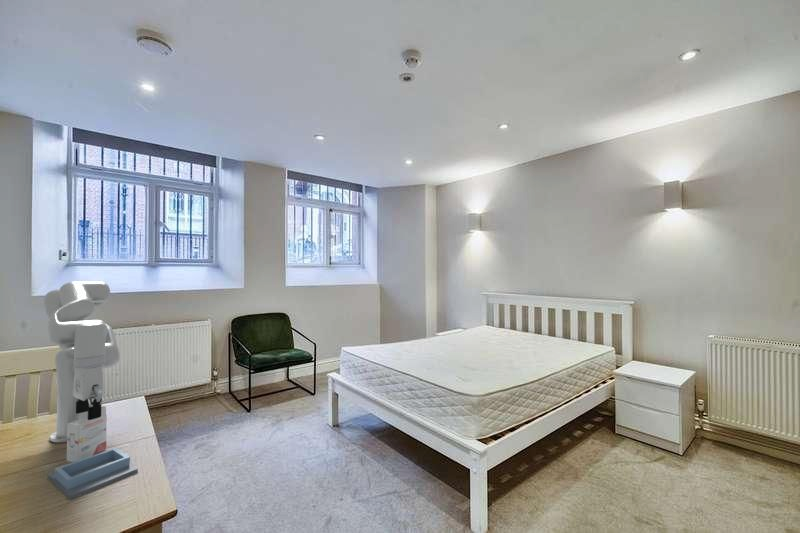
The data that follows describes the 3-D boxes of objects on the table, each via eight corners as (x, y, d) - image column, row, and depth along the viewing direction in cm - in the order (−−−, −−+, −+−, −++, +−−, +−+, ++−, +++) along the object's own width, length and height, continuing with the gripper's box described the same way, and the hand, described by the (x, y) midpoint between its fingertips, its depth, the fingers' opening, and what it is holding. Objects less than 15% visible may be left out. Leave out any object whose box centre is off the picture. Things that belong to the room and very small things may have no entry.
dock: (47, 477, 99) (47, 465, 99) (111, 454, 112) (112, 443, 112) (70, 499, 90) (70, 486, 90) (137, 471, 103) (137, 460, 103)
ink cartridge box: (94, 447, 116) (95, 403, 116) (106, 449, 115) (108, 405, 115) (65, 461, 108) (66, 413, 108) (77, 463, 107) (79, 415, 107)
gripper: (64, 360, 113) (62, 413, 112) (85, 367, 104) (83, 425, 103) (93, 356, 119) (92, 406, 119) (115, 362, 110) (114, 416, 110)
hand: (88, 415), depth 111 cm, fingers open, 9 cm apart
